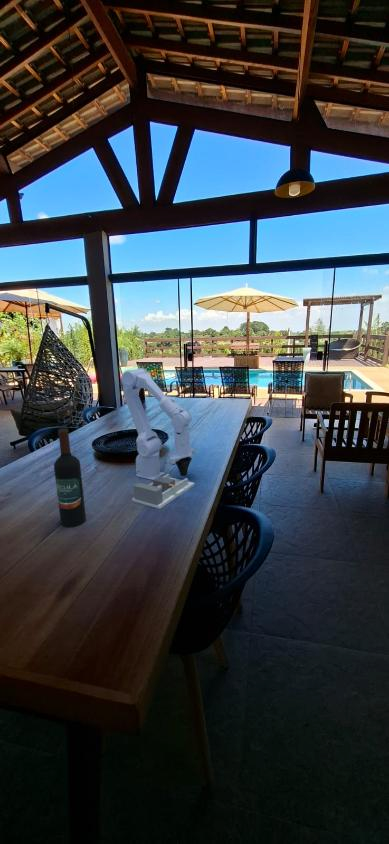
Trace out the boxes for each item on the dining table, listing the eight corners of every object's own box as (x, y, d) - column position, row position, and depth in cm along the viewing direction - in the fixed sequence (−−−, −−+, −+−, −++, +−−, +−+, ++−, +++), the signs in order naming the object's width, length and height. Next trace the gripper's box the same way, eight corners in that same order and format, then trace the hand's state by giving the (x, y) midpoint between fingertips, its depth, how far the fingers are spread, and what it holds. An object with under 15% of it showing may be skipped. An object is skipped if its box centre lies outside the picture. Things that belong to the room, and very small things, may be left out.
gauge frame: (132, 501, 129) (131, 485, 127) (169, 479, 147) (168, 465, 145) (159, 508, 122) (158, 492, 121) (194, 485, 140) (194, 470, 139)
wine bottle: (90, 517, 118) (81, 427, 111) (76, 528, 111) (65, 433, 104) (71, 514, 120) (60, 425, 113) (55, 525, 113) (43, 432, 106)
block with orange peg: (148, 493, 132) (147, 482, 131) (160, 486, 137) (159, 476, 136) (169, 498, 127) (169, 488, 126) (180, 491, 133) (180, 480, 132)
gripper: (180, 448, 133) (181, 483, 136) (200, 438, 145) (201, 471, 148) (164, 446, 137) (166, 480, 140) (185, 436, 148) (187, 468, 152)
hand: (183, 475), depth 144 cm, fingers closed
